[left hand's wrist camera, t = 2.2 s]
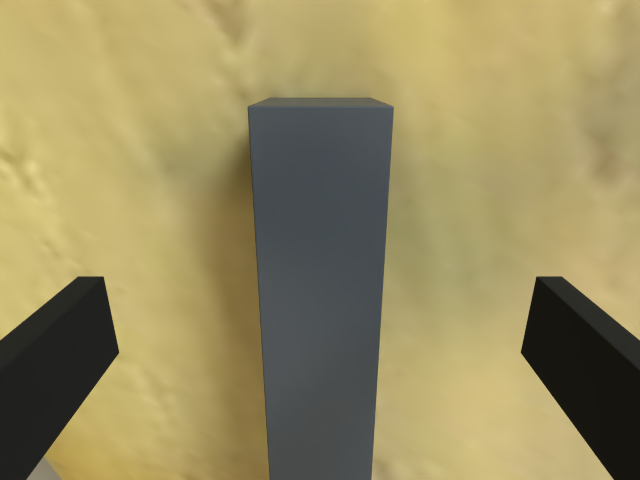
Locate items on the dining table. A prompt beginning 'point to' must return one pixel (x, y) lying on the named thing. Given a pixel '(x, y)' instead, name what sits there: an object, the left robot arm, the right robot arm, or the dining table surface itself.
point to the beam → (320, 278)
